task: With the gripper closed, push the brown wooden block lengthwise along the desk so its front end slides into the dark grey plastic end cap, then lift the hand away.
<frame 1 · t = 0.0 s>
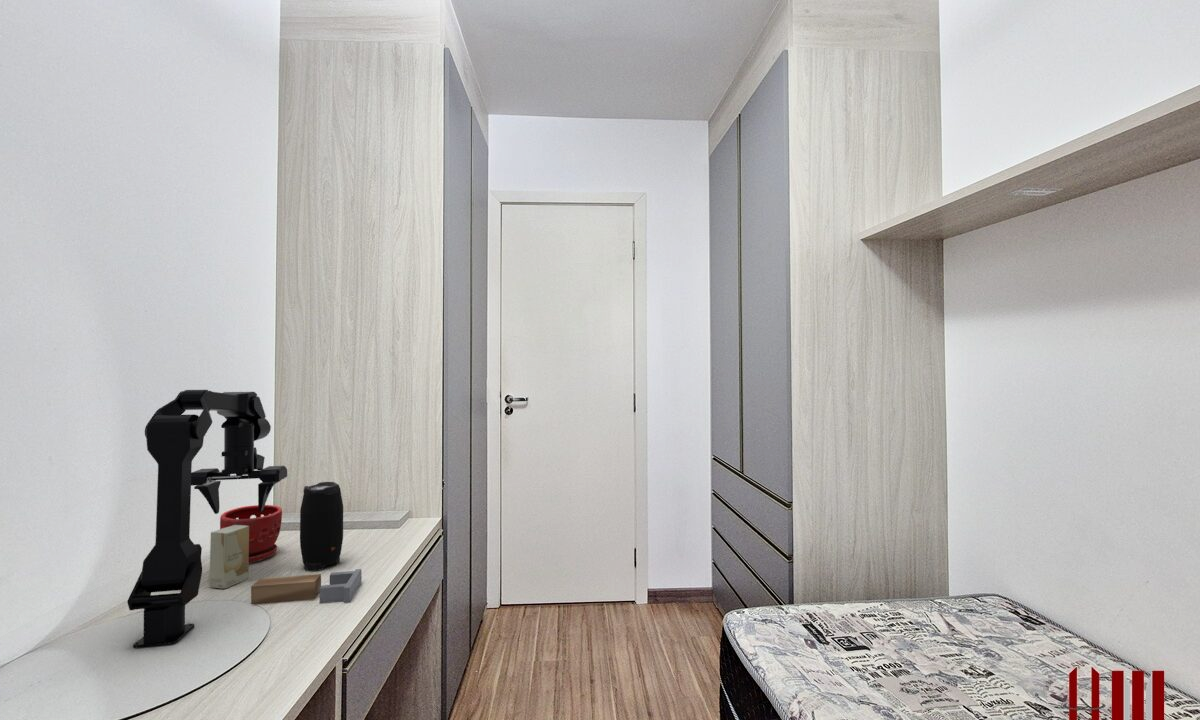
hand: (239, 512, 122), 15 cm above the table, fingers open, 9 cm apart
portable speaker: (321, 565, 128), on the table
end cap: (340, 593, 112), on the table
brown wooden block: (287, 599, 110), on the table
skincare box: (229, 583, 117), on the table
plant pot: (251, 558, 133), on the table
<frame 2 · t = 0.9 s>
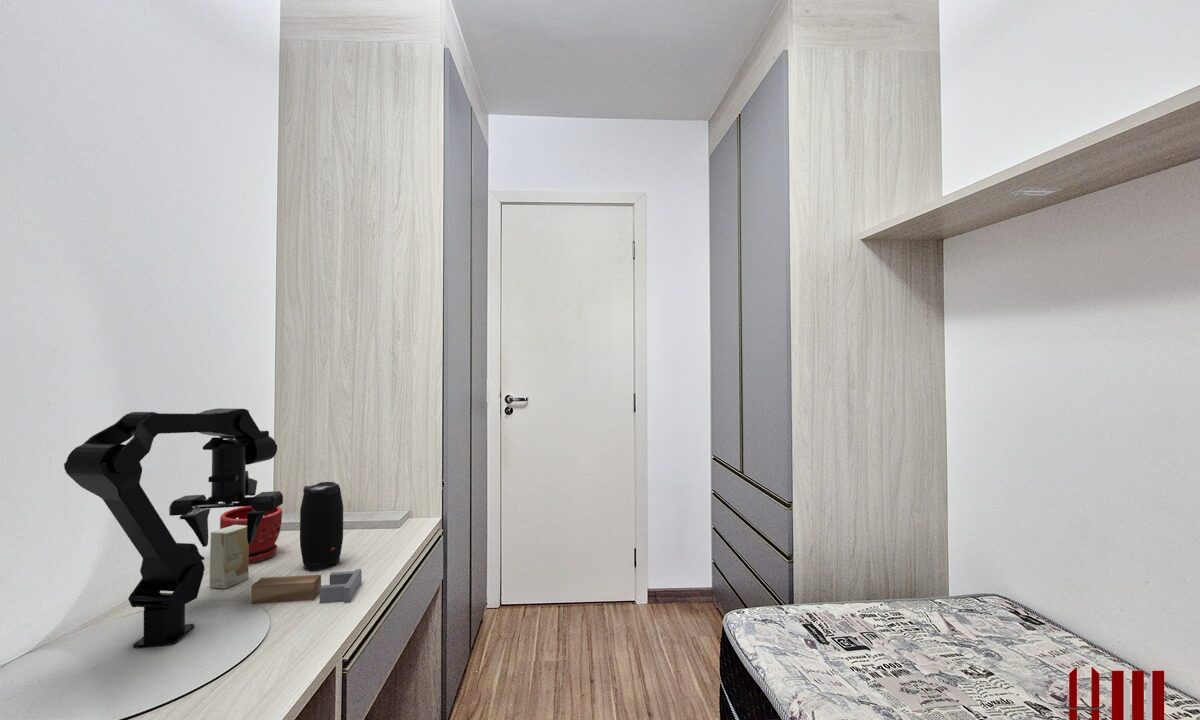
hand: (228, 544, 108), 12 cm above the table, fingers open, 8 cm apart
nothing on the table moved.
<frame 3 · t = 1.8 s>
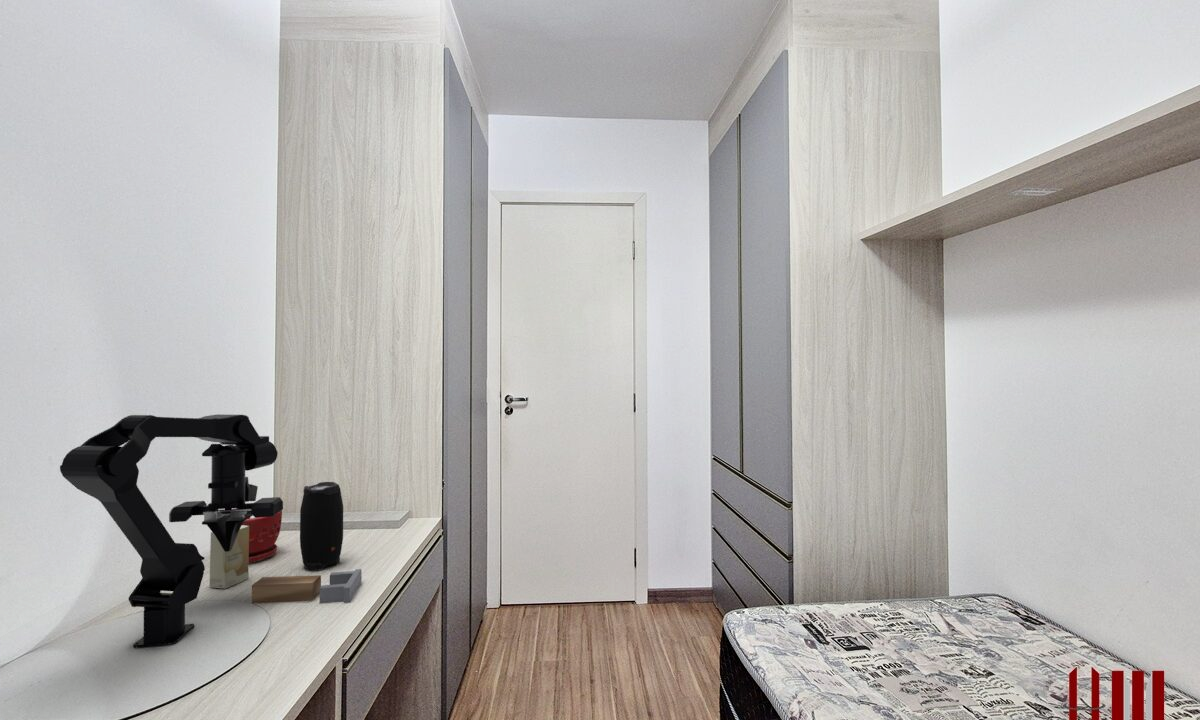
hand: (228, 551, 108), 11 cm above the table, fingers closed
nothing on the table moved.
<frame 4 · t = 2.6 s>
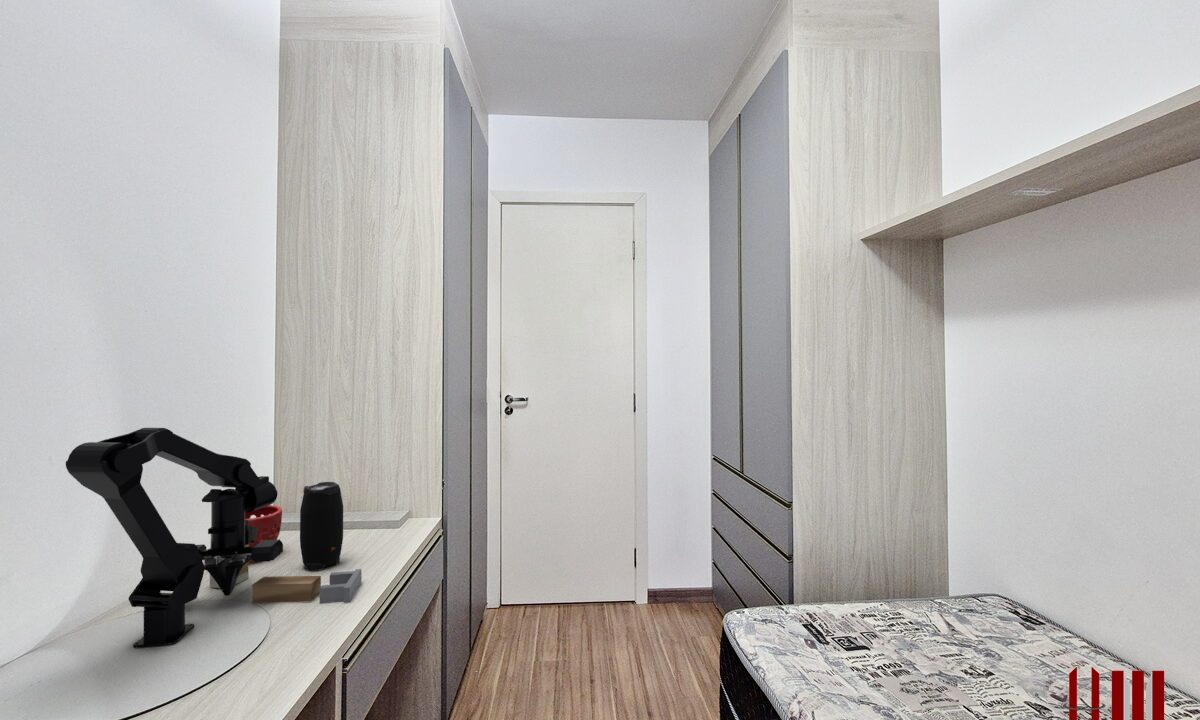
hand: (228, 594, 108), 2 cm above the table, fingers closed
nothing on the table moved.
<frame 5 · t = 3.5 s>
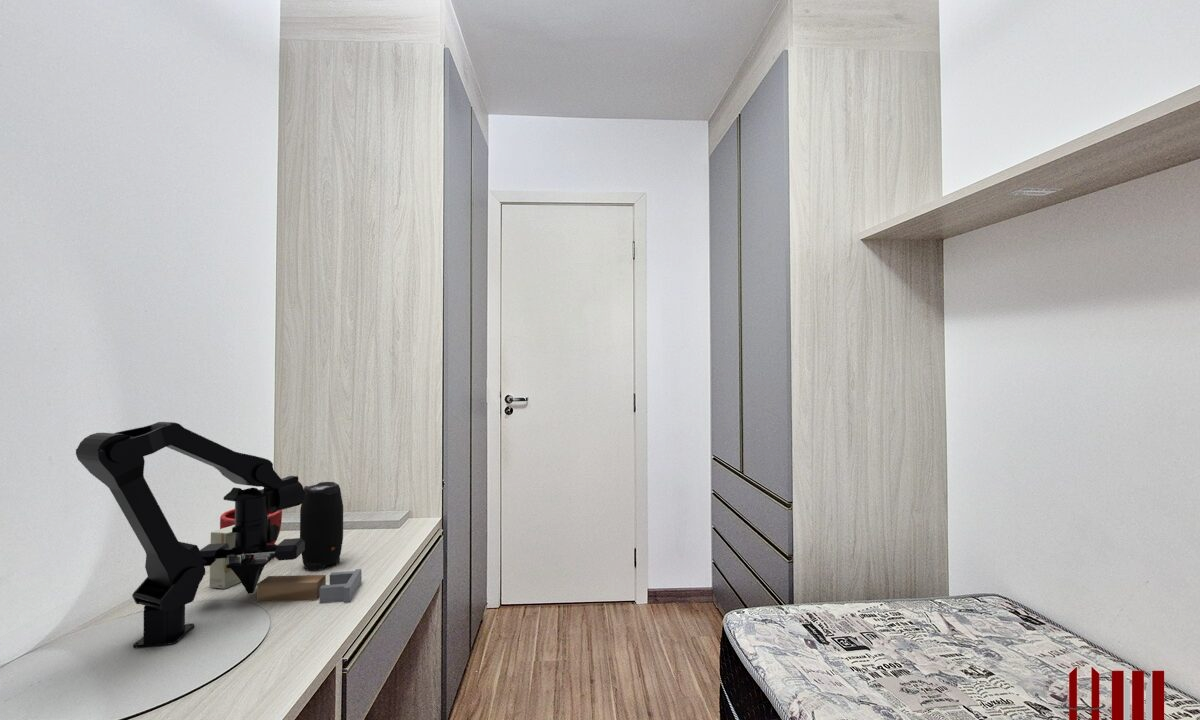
hand: (251, 592, 109), 2 cm above the table, fingers closed
brown wooden block: (292, 598, 110), on the table, touching gripper
everything else where it was.
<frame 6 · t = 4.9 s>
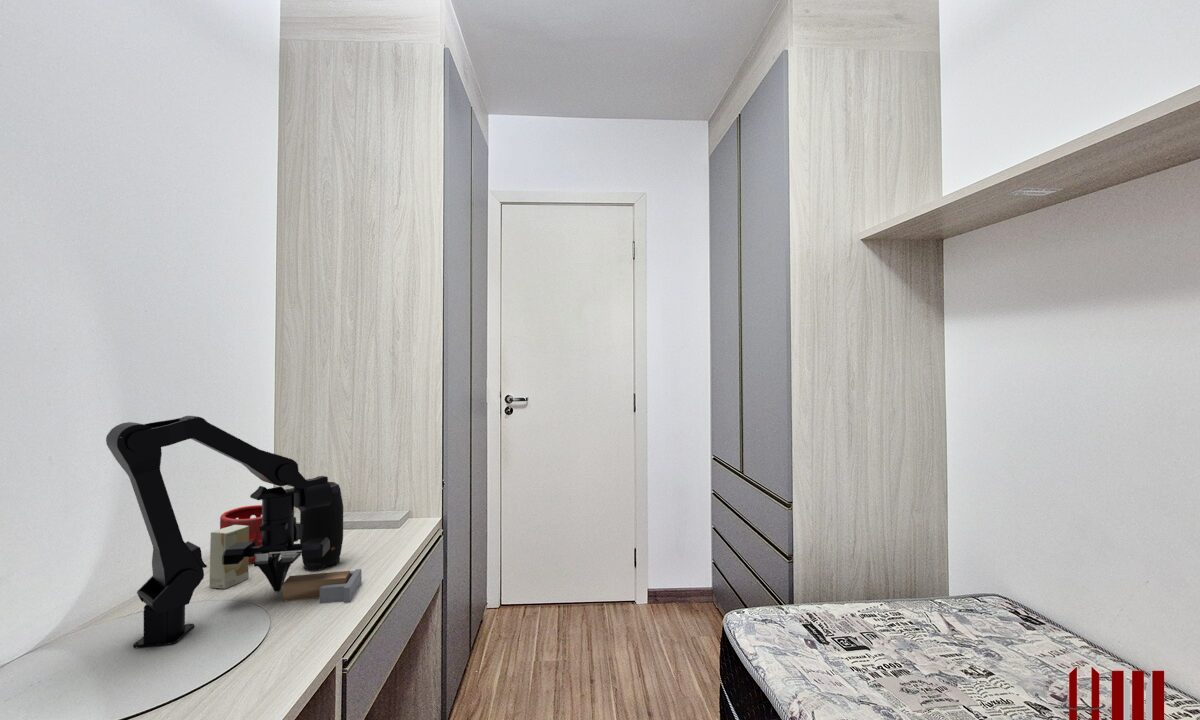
hand: (278, 591, 110), 2 cm above the table, fingers closed
brown wooden block: (317, 595, 112), on the table
everything else where it was.
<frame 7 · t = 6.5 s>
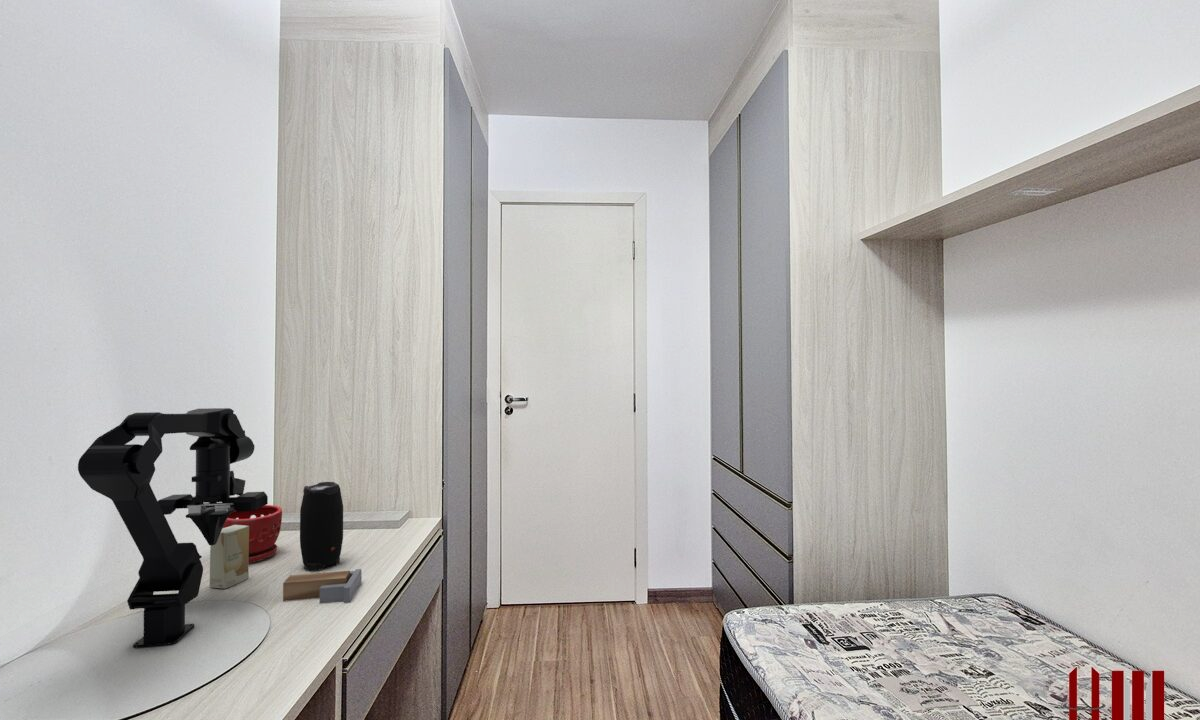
hand: (212, 544, 108), 12 cm above the table, fingers closed
nothing on the table moved.
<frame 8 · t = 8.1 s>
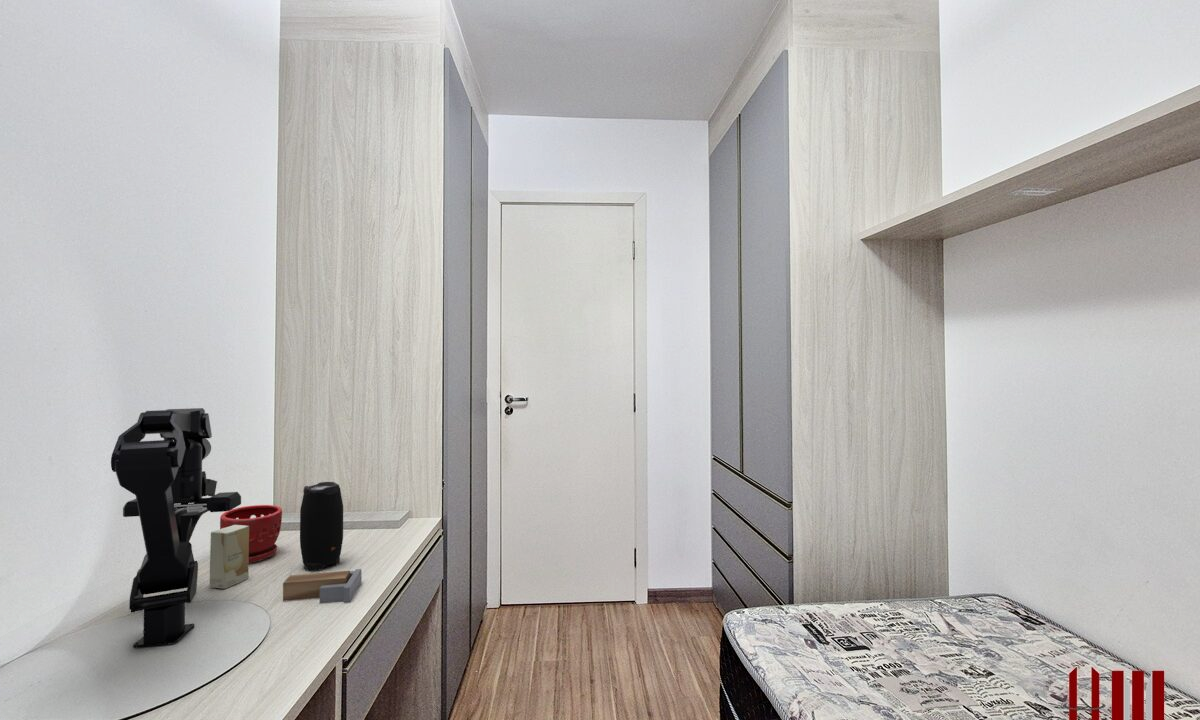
hand: (184, 545, 107), 12 cm above the table, fingers closed
nothing on the table moved.
at the end: brown wooden block 0.8 cm from the target spot on the table beside the end cap, on the table; brown wooden block tilted 0° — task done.
